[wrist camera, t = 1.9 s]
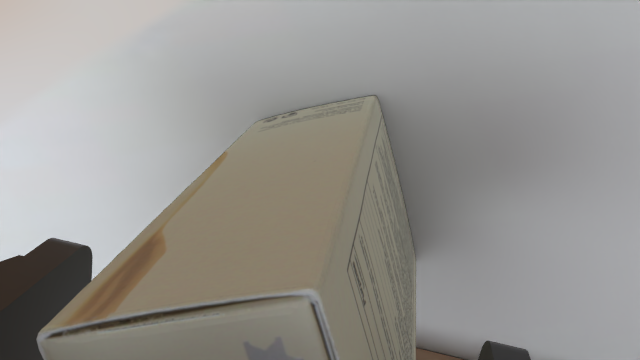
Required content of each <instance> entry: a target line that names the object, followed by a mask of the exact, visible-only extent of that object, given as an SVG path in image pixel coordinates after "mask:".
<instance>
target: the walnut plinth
mask: <svg viewBox="0 0 640 360" xmlns="http://www.w3.org/2000/svg"><path fill="white" fill-rule="evenodd" d="M416 360H464V359H460V358H456V357H452V356H448V355H443V354H439V353H435V352H431V351H427V350H423V349H418V348H416Z"/></svg>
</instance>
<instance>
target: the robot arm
mask: <svg viewBox="0 0 640 360" xmlns="http://www.w3.org/2000/svg"><path fill="white" fill-rule="evenodd" d="M91 278H92V252H91V249H90V248H89V247H88V246H86V245H81V244H77V243H73V242H69V241H64V240H60V239H56V238H50V239H48V240H46V241H45V242H43V243H42V244H41V245H39V246H38V247H36V248H35V249H34V250H32V251H31V252H29V253H28V254H26V255H25V256H20V255H18V256H15V257H13V258H10V259H7V260H4V261H1V262H0V360H44V359H43V357H42V355H41V353H40V351H39V348H38V344H37V340H36V339H37V336H38V333H39V332H40V331H41V329H42V328H43V327H45V326H46V325H47V324H48V323H49V322H50V321H51V320H52V319H53V318H54V317H55V316H56V315H57V314H58V313H59V312H60V311H61V310H62V309H63V308H64V307H65V306H66V305H67V304H68V303H69V302H70V301H71V300H72V299H73V298H74V297H75V296H76V295H77V294H78V293H79V292H80V291H81V290H82V289H83V288H84V287H85V286H87V285H88V284H89V283H90V282H91ZM478 360H531V359H530V356H529V353H528V351H527V350H526V349H521V348H517V347H513V346H509V345H504V344H500V343H496V342H491V341H486V342H485V343H484V345H483V347H482V350H481V352H480V356H479V359H478Z"/></svg>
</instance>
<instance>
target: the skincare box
mask: <svg viewBox="0 0 640 360" xmlns="http://www.w3.org/2000/svg"><path fill="white" fill-rule="evenodd" d="M36 340H37V344H38V348H39V351H40V353H41V355H42V357H43V359H44V360H416V258H415V252H414V247H413V242H412V236H411V231H410V227H409V222H408V217H407V213H406V208H405V204H404V199H403V195H402V191H401V186H400V182H399V178H398V174H397V170H396V165H395V161H394V157H393V153H392V149H391V145H390V141H389V137H388V134H387V130H386V126H385V123H384V119H383V115H382V111H381V108H380V104H379V101H378V98H377V97H376V96H367V97H361V98H356V99H351V100H346V101H341V102H336V103H331V104H326V105H321V106H316V107H311V108H307V109H302V110H298V111H294V112H290V113H286V114H282V115H278V116H274V117H271V118H267V119H263V120H260V121H257V122H255V123H254V124H253V125H252V126H251V127H250V128H249V129H248V130H247V131H246V132H245V133H244V134H243V135H241V136H240V137H239V138H238V139H237V140H236V141H235V142H234V143H233V144H232V145H231V146H230V147H229V148H228V149H227V150H226V151H225V152H224V153H223V154H222V155H221V156H220V157H219V158H218V159H217V160H216V161H215V162H214V163H213V164H212V165H211V166H210V167H209V168H208V169H206V170H205V171H204V172H203V173H202V174H201V175H200V176H199V177H198V178H197V179H196V180H195V181H194V182H193V183H192V184H191V185H190V186H189V187H187V188H186V189H185V190H184V191H183V192H182V193H181V194H180V195H179V196H178V197H177V198H176V199H175V200H174V201H173V202H172V203H171V204H170V205H169V206H168V207H167V208H166V209H164V211H163V212H162V213H161V214H160V215H159V216H158V217H157V218H155V219H154V220H153V221H152V222H151V223H150V224H149V225H148V226H147V227H146V228H145V229H144V230H143V231H142V232H141V233H140V234H139V235H138V236H137V237H136V238H135V239H134V240H133V241H132V242H131V243H130V244H129V245H128V246H127V247H126V248H125V249H124V250H123V251H122V252H121V253H119V254H118V255H117V256H116V257H115V258H114V260H113V261H112V262H111V263H110V264H109V265H108V266H107V267H105V268H104V269H103V270H102V271H101V272H100V273H99V274H98V275H97V276H96V277H95V278H94V279H93V280H92V281H91V282H90V283H89V284H88V285H87V286H85V287H84V288H83V289H82V290H81V291H80V292H79V293H78V294H77V295H76V296H75V297H74V298H73V299H72V300H71V301H70V302H69V303H68V304H67V305H66V306H65V307H64V308H63V309H62V310H61V311H60V312H59V313H58V314H57V315H56V316H55V317H54V318H53V319H52V320H51V321H50V322H49V323H48V324H47V325H46V326H45V327H43V328H42V329H41V331H40V332H39V333H38V336H37V339H36Z"/></svg>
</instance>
